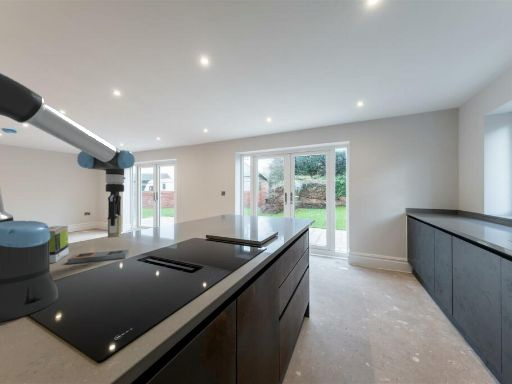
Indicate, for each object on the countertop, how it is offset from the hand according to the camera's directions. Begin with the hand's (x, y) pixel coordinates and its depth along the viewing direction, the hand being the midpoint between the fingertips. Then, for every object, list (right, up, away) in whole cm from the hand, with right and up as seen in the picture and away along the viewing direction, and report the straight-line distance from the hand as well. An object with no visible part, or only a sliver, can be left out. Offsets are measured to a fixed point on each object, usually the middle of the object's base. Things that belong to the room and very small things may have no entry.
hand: (114, 231), depth 101 cm
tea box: (-29, -13, -3) cm, 31 cm away
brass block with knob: (0, -2, 0) cm, 2 cm away
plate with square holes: (-5, -12, -2) cm, 14 cm away
